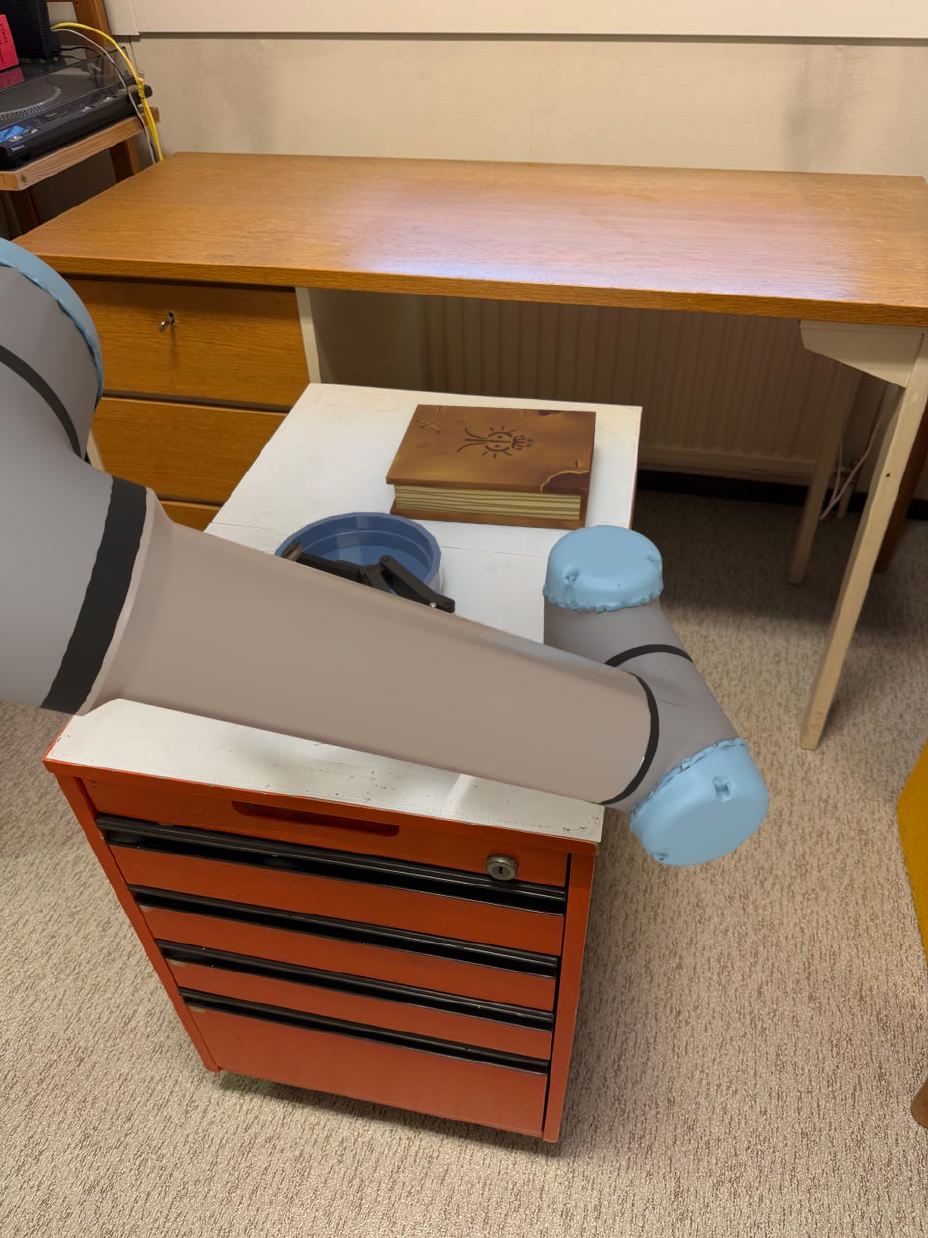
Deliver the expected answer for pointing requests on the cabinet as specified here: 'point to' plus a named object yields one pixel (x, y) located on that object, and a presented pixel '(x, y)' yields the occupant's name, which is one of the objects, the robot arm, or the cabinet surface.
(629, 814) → the robot arm
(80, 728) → the cabinet surface
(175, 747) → the cabinet surface
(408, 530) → the bowl
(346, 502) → the cabinet surface
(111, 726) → the cabinet surface
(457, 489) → the diary
